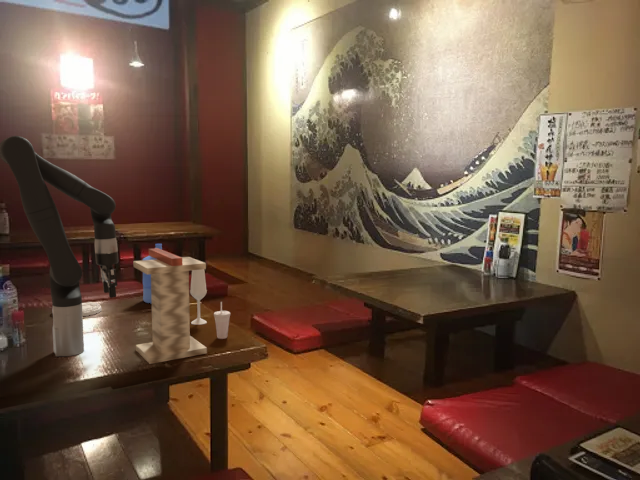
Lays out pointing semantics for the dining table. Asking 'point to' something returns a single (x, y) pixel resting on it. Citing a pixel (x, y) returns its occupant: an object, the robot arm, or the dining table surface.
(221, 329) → the smoothie
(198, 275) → the champagne flute
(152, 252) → the lacquered bar
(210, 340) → the dining table surface
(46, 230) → the robot arm
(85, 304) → the embossed medallion
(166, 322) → the beech pedestal
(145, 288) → the water jug
